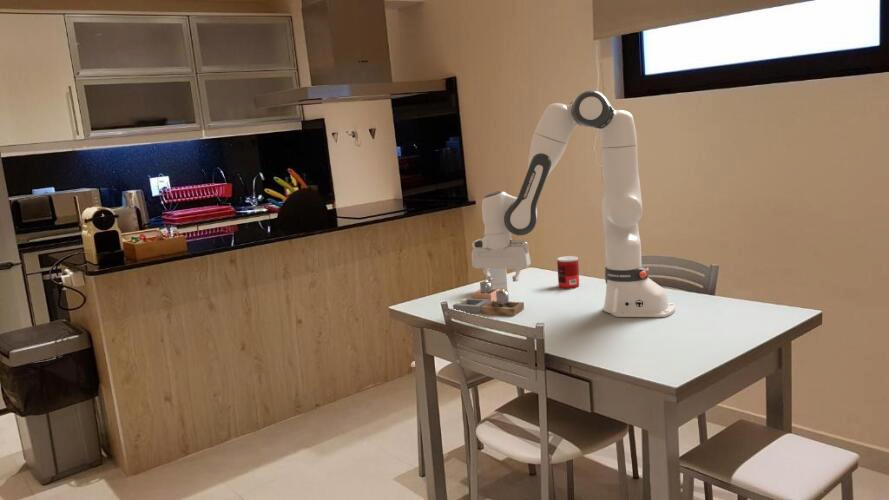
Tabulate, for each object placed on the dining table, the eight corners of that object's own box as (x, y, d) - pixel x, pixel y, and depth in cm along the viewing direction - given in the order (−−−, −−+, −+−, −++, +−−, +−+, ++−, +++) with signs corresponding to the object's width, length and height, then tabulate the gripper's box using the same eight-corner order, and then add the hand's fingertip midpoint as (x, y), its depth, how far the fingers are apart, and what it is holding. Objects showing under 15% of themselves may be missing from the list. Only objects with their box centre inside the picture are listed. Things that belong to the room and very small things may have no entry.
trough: (524, 310, 232) (523, 302, 231) (514, 317, 225) (514, 308, 225) (492, 308, 238) (491, 300, 237) (482, 315, 231) (481, 306, 231)
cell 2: (511, 310, 232) (509, 288, 231) (506, 313, 229) (504, 291, 227) (500, 309, 234) (499, 288, 233) (495, 312, 231) (493, 291, 229)
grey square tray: (490, 307, 239) (490, 298, 239) (479, 315, 232) (478, 306, 231) (465, 306, 244) (464, 297, 244) (453, 313, 237) (452, 304, 236)
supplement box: (508, 290, 262) (505, 257, 259) (508, 295, 254) (505, 261, 252) (488, 291, 262) (486, 259, 260) (488, 296, 255) (485, 263, 253)
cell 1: (494, 301, 245) (493, 280, 243) (486, 303, 243) (485, 283, 241) (486, 298, 248) (485, 278, 246) (478, 301, 245) (477, 281, 244)
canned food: (582, 284, 260) (581, 256, 258) (574, 289, 253) (573, 260, 251) (563, 283, 264) (562, 255, 262) (555, 288, 258) (553, 260, 255)
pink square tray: (500, 301, 247) (499, 289, 246) (491, 306, 241) (490, 294, 240) (482, 300, 250) (481, 288, 249) (473, 305, 244) (472, 293, 243)
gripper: (531, 238, 224) (535, 278, 227) (475, 239, 235) (480, 278, 237) (523, 242, 219) (528, 283, 221) (467, 243, 229) (472, 283, 232)
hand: (502, 281), depth 229 cm, fingers open, 8 cm apart
